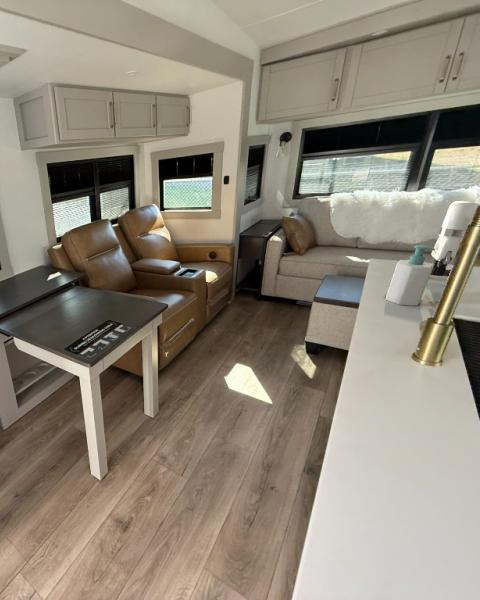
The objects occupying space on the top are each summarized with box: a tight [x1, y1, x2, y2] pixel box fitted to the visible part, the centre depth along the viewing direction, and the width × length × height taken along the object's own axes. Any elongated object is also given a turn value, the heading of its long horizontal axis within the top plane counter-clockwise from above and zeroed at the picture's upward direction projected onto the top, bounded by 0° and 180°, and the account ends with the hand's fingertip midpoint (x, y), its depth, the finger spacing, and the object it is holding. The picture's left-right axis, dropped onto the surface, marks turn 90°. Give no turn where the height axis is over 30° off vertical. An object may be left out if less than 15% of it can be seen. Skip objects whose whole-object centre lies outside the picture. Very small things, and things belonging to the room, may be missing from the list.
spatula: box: [430, 268, 452, 277], centre depth 139 cm, size 18×6×3 cm, turn 56°
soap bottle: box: [385, 244, 435, 307], centre depth 120 cm, size 10×9×22 cm
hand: (436, 274), depth 138 cm, fingers closed on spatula, 3 cm apart
